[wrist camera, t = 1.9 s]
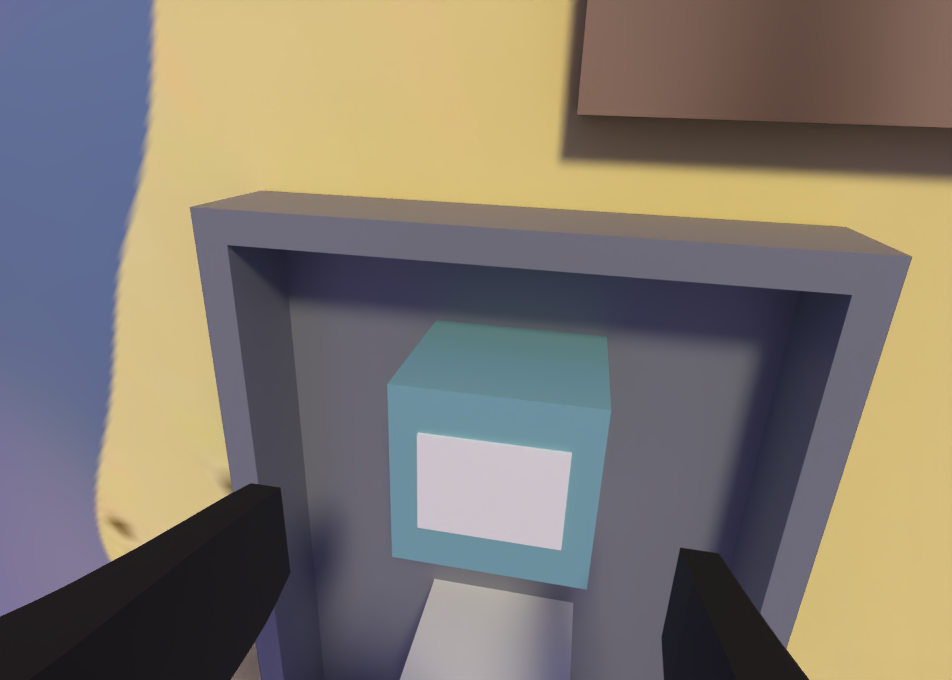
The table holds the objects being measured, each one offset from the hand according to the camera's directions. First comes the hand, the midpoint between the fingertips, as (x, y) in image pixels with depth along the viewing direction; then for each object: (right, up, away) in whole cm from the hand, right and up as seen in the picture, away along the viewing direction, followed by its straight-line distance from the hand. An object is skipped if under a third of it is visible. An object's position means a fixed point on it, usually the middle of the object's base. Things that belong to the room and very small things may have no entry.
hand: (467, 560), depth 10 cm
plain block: (+1, -6, +9) cm, 11 cm away
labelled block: (+1, +2, +6) cm, 6 cm away
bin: (+1, -2, +8) cm, 8 cm away
